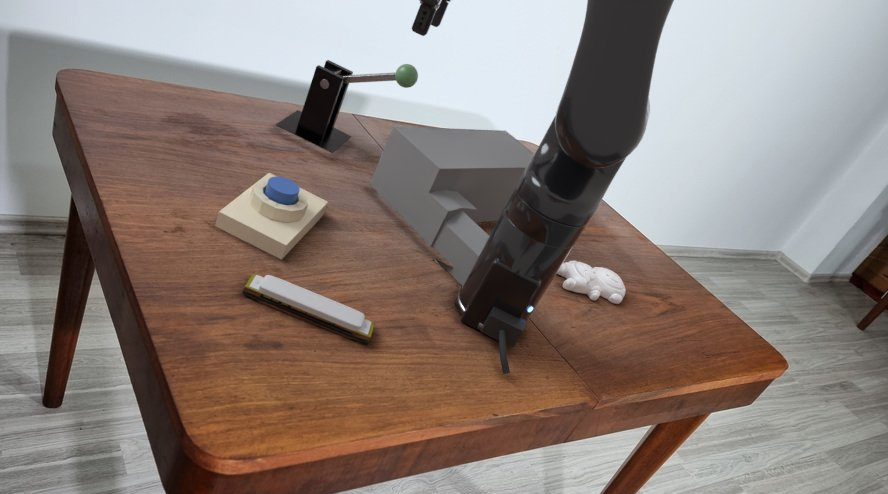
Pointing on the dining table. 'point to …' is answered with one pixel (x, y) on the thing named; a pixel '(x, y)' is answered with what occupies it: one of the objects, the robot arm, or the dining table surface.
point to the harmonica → (309, 307)
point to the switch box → (270, 218)
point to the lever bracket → (321, 109)
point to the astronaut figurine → (592, 281)
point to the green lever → (386, 76)
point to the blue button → (282, 190)
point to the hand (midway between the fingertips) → (425, 28)
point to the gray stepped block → (450, 185)
